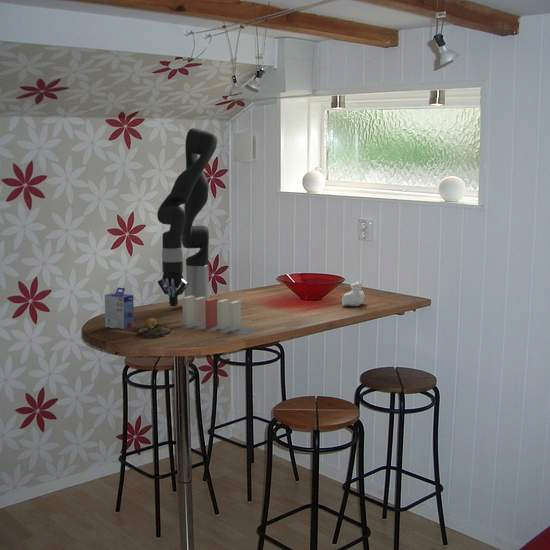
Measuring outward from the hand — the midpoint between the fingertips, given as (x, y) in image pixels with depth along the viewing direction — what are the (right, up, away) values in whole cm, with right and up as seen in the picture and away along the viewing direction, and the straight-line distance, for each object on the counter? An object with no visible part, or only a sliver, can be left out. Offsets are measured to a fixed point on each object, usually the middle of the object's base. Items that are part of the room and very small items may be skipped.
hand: (173, 306), depth 282 cm
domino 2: (+10, -7, -4) cm, 13 cm away
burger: (-5, -10, -15) cm, 19 cm away
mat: (+17, -8, -8) cm, 20 cm away
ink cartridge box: (-19, -8, -6) cm, 21 cm away
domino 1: (+6, -6, -2) cm, 9 cm away
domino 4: (+24, -8, -12) cm, 27 cm away
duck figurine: (+71, -1, +33) cm, 78 cm away
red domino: (+15, -7, -7) cm, 18 cm away
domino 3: (+19, -7, -9) cm, 23 cm away
